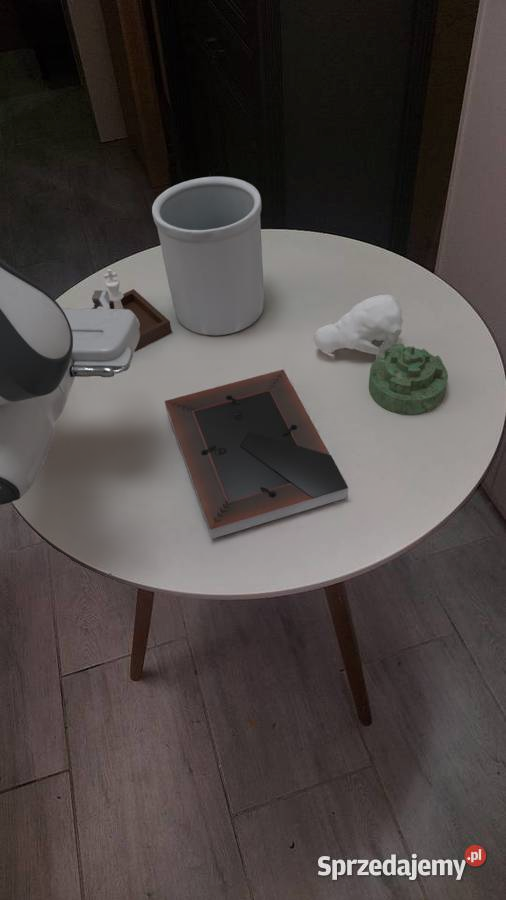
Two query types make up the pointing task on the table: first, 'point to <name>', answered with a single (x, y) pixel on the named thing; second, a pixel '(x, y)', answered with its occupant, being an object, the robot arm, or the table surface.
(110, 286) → the chess piece
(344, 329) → the white animal figurine
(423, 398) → the decorative artifact
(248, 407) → the picture frame
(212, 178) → the utensil holder
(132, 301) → the dark tray
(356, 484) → the table surface
